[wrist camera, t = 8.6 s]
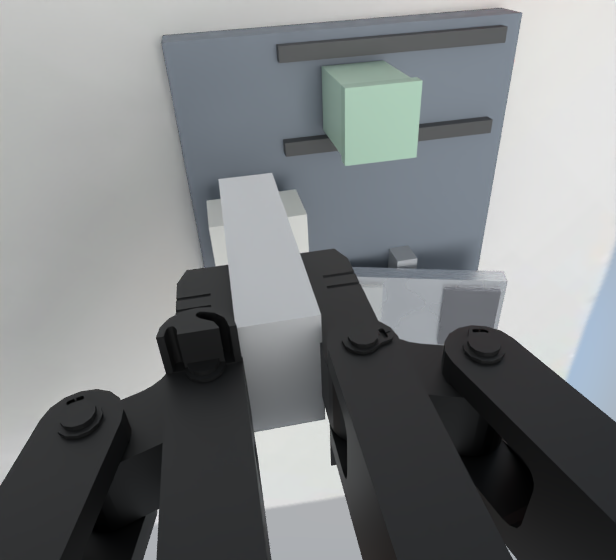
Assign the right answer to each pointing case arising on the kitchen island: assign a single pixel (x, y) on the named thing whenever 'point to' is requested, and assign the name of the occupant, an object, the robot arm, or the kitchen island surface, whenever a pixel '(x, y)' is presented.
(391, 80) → the pale green block
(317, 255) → the robot arm
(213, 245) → the button
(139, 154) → the kitchen island surface
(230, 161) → the panel
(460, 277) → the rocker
